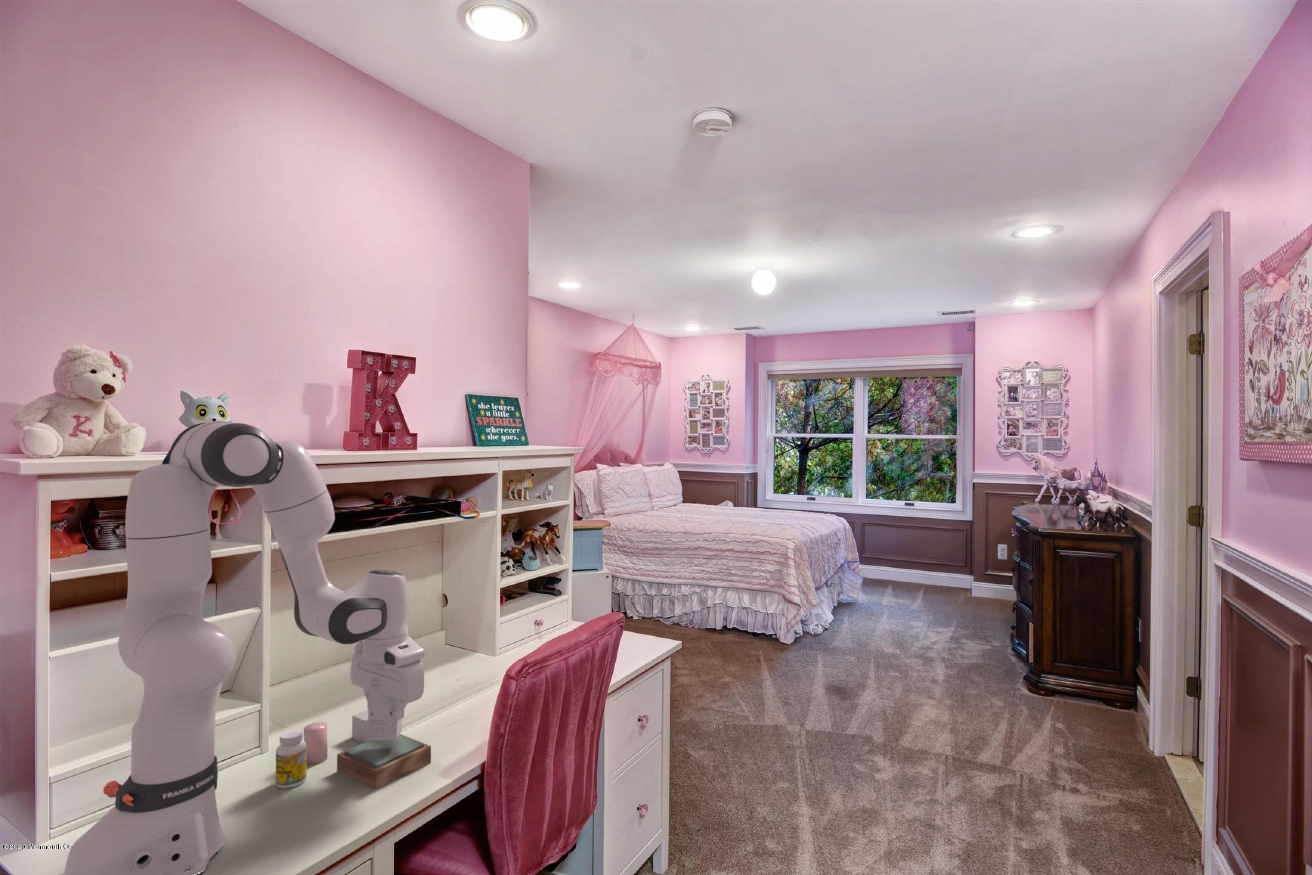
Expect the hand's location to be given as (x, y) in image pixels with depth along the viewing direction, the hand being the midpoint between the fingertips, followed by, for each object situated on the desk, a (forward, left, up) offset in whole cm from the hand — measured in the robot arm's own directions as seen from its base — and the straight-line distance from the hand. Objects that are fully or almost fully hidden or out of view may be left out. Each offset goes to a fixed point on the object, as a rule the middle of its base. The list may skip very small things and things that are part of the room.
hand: (385, 713), depth 137 cm
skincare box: (0, 0, -5) cm, 5 cm away
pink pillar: (-6, +15, -11) cm, 20 cm away
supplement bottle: (-14, +10, -11) cm, 21 cm away
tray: (0, 0, -11) cm, 11 cm away
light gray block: (+7, +16, -11) cm, 21 cm away
